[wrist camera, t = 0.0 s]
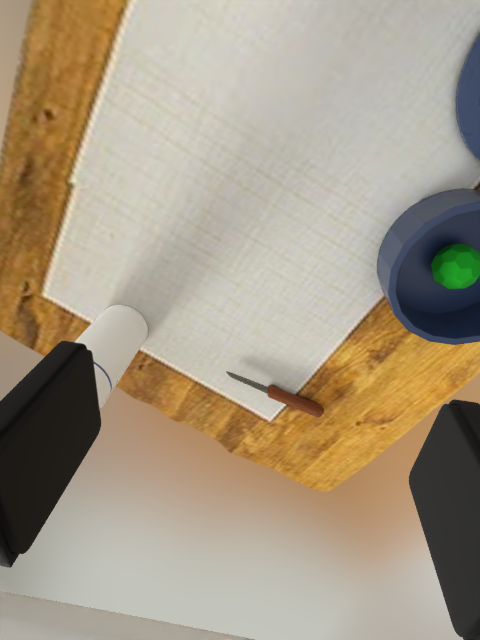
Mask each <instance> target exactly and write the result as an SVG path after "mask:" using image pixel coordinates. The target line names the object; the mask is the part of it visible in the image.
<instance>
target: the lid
mask: <svg viewBox="0 0 480 640" xmlns="http://www.w3.org/2000/svg"><path fill="white" fill-rule="evenodd" d="M456 113H457V122H458V126H459V130H460V133H461V135H462V138H463V140H464V142H465V144H466V145H467V147H468V149H469V150H470V151H471V152H472V154H473V155H474V156H475V157H476V158H477V159H478V160H480V33H479V35H478V36H477V38H476V39H475V41H474V43H473V45H472V47H471V49H470V51H469V53H468V55H467V58H466V60H465V63H464V66H463V68H462V71H461V75H460V79H459V83H458V89H457V96H456Z"/></svg>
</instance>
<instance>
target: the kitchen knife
mask: <svg viewBox="0 0 480 640" xmlns="http://www.w3.org/2000/svg"><path fill="white" fill-rule="evenodd" d="M226 372H227V371H226ZM227 374H228V375H229V376H230V377H232V378H234V379H236V380H238V381H240V382H243V383H245V384H247V385H249V386H252V387H254V388H256V389H258V390H260V391H263V392H265V393H267V394H268V397H270V398H272V399H275V400H277V401H280V402H282V403H284V404H287V405H289V406H292V407H294V408H296V409H299V410H301V411H304V412H306V413H308V414H311V415H313V416H316V417H320V416H321V415H322V414H323V412H324V409H323V407H321V406H320V405H319V404H317V403H315V402H312V401H310V400H307V399H304V398H302V397H299V396H296V395H294V394H291V393H288V392H286V391H283V390H281V389H279V388H277V387H275V386H273V385H270V386H268V387H266V386H264V385H261V384H259V383H256V382H254V381H251V380H249V379H246V378H243V377H241V376H238V375H236V374H233V373H230V372H227Z"/></svg>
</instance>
